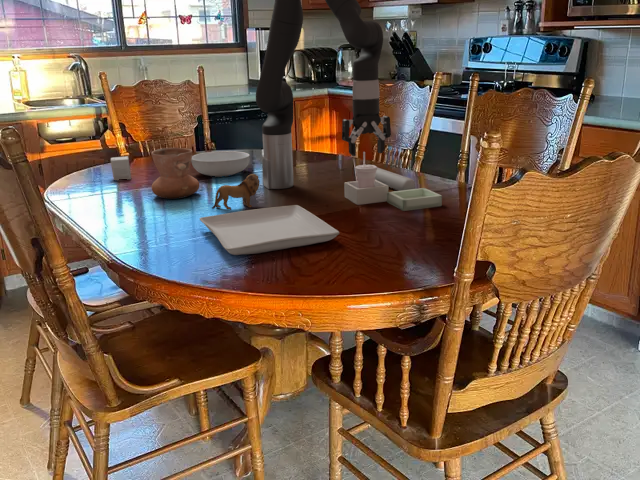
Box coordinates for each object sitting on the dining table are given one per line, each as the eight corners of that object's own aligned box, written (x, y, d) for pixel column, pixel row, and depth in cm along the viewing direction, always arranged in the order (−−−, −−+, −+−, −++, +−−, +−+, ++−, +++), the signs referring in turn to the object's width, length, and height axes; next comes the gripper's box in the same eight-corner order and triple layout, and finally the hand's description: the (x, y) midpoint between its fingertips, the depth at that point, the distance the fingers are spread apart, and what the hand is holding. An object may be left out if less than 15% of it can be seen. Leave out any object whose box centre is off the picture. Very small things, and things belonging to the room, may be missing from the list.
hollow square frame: (357, 204, 169) (357, 189, 168) (344, 196, 178) (344, 182, 176) (388, 201, 172) (388, 185, 171) (374, 193, 181) (374, 179, 179)
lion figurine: (257, 201, 176) (255, 171, 173) (263, 205, 171) (262, 175, 168) (209, 208, 169) (206, 177, 167) (214, 213, 165) (212, 181, 162)
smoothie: (353, 196, 178) (353, 150, 173) (374, 195, 178) (375, 149, 174) (356, 202, 172) (356, 154, 167) (378, 201, 172) (379, 153, 168)
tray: (403, 210, 162) (403, 200, 161) (387, 202, 171) (387, 192, 170) (441, 206, 165) (442, 195, 165) (424, 197, 174) (424, 187, 173)
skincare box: (131, 176, 214) (128, 155, 212) (131, 179, 209) (128, 158, 206) (113, 177, 213) (110, 157, 210) (113, 181, 207) (110, 160, 205)
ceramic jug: (208, 197, 181) (204, 151, 177) (162, 205, 174) (157, 157, 169) (187, 186, 196) (183, 144, 191) (144, 193, 188) (138, 149, 184)
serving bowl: (261, 175, 210) (260, 155, 208) (206, 183, 199) (204, 163, 197) (234, 166, 227) (233, 148, 225) (183, 173, 216) (181, 155, 214)
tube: (421, 180, 179) (376, 165, 200) (407, 177, 177) (363, 162, 198) (415, 197, 180) (372, 181, 201) (402, 194, 178) (359, 178, 199)
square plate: (227, 264, 127) (226, 247, 126) (199, 230, 151) (198, 215, 150) (341, 245, 137) (341, 229, 136) (298, 216, 161) (297, 202, 160)
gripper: (383, 94, 171) (383, 150, 176) (337, 97, 167) (339, 154, 172) (394, 96, 164) (394, 154, 169) (347, 99, 160) (348, 158, 165)
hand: (366, 154), depth 171 cm, fingers open, 8 cm apart
